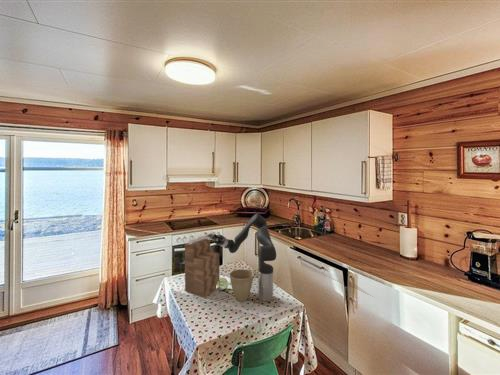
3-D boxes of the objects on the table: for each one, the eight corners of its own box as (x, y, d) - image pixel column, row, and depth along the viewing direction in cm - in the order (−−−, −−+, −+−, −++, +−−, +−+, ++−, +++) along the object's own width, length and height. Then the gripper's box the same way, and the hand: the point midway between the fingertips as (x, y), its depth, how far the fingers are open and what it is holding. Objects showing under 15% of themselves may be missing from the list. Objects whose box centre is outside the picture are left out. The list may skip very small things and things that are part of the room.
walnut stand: (201, 281, 177) (201, 237, 174) (219, 287, 169) (219, 241, 166) (185, 291, 163) (184, 243, 161) (203, 297, 155) (203, 248, 153)
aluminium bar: (212, 235, 181) (212, 231, 181) (215, 236, 179) (215, 232, 179) (188, 244, 160) (188, 239, 160) (192, 244, 159) (191, 240, 158)
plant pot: (255, 294, 160) (256, 270, 159) (249, 306, 146) (249, 280, 144) (234, 291, 164) (234, 267, 163) (226, 302, 150) (226, 277, 148)
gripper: (215, 234, 193) (203, 228, 181) (230, 237, 186) (218, 230, 173) (212, 244, 190) (199, 238, 178) (227, 247, 183) (215, 241, 171)
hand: (209, 234), depth 176 cm, fingers open, 8 cm apart
